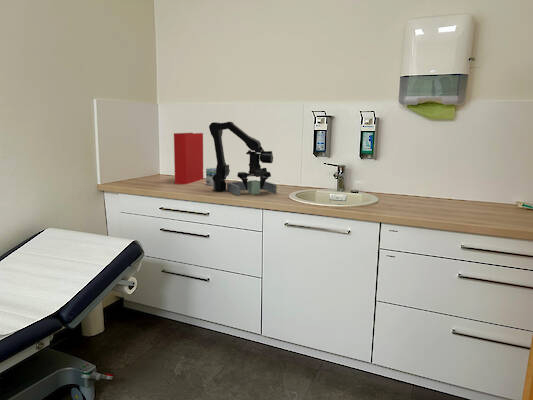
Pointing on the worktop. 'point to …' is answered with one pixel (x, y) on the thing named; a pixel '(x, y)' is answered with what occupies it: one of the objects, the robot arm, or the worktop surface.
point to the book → (188, 157)
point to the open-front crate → (237, 186)
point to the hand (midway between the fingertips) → (254, 189)
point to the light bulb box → (210, 176)
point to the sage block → (254, 187)
